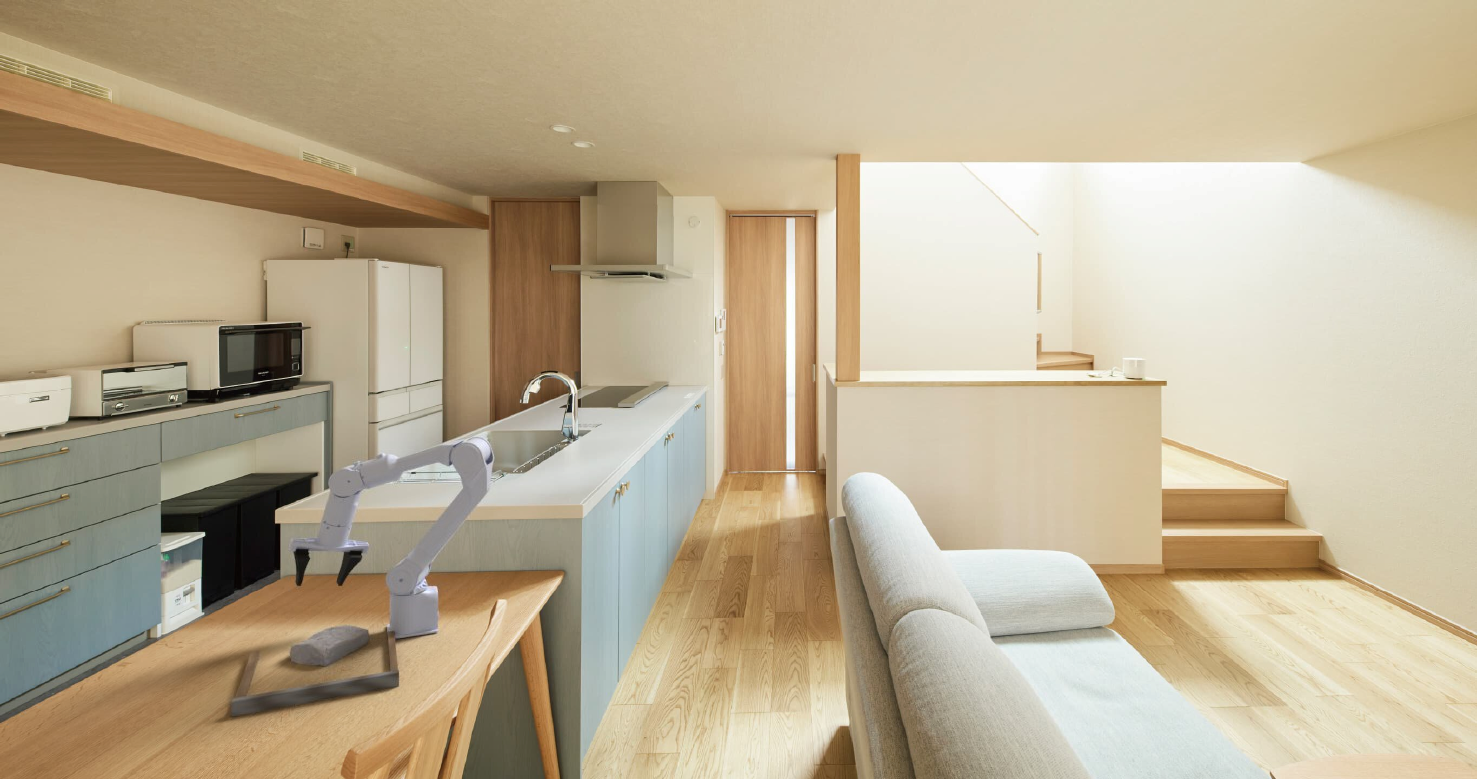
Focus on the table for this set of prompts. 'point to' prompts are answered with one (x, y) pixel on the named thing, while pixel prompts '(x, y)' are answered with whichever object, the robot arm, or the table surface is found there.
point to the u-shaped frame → (311, 687)
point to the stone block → (329, 645)
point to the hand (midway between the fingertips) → (319, 584)
